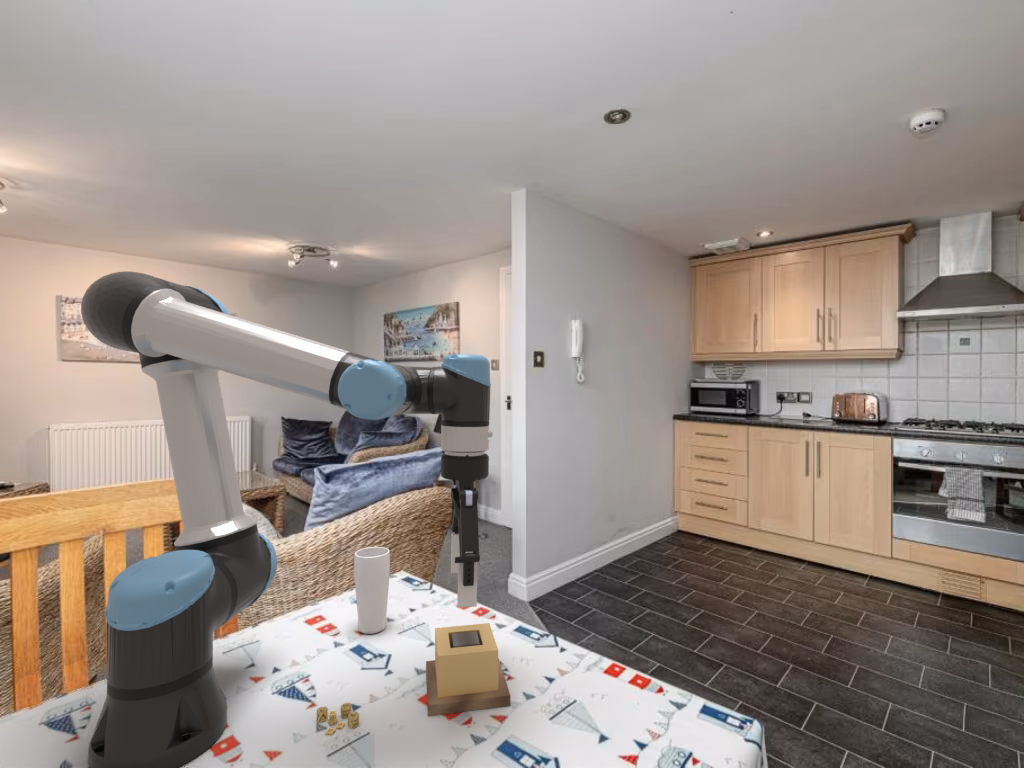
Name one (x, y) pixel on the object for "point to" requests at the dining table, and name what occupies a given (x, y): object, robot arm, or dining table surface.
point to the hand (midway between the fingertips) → (462, 588)
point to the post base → (466, 700)
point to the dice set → (345, 713)
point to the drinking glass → (372, 588)
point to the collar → (466, 662)
